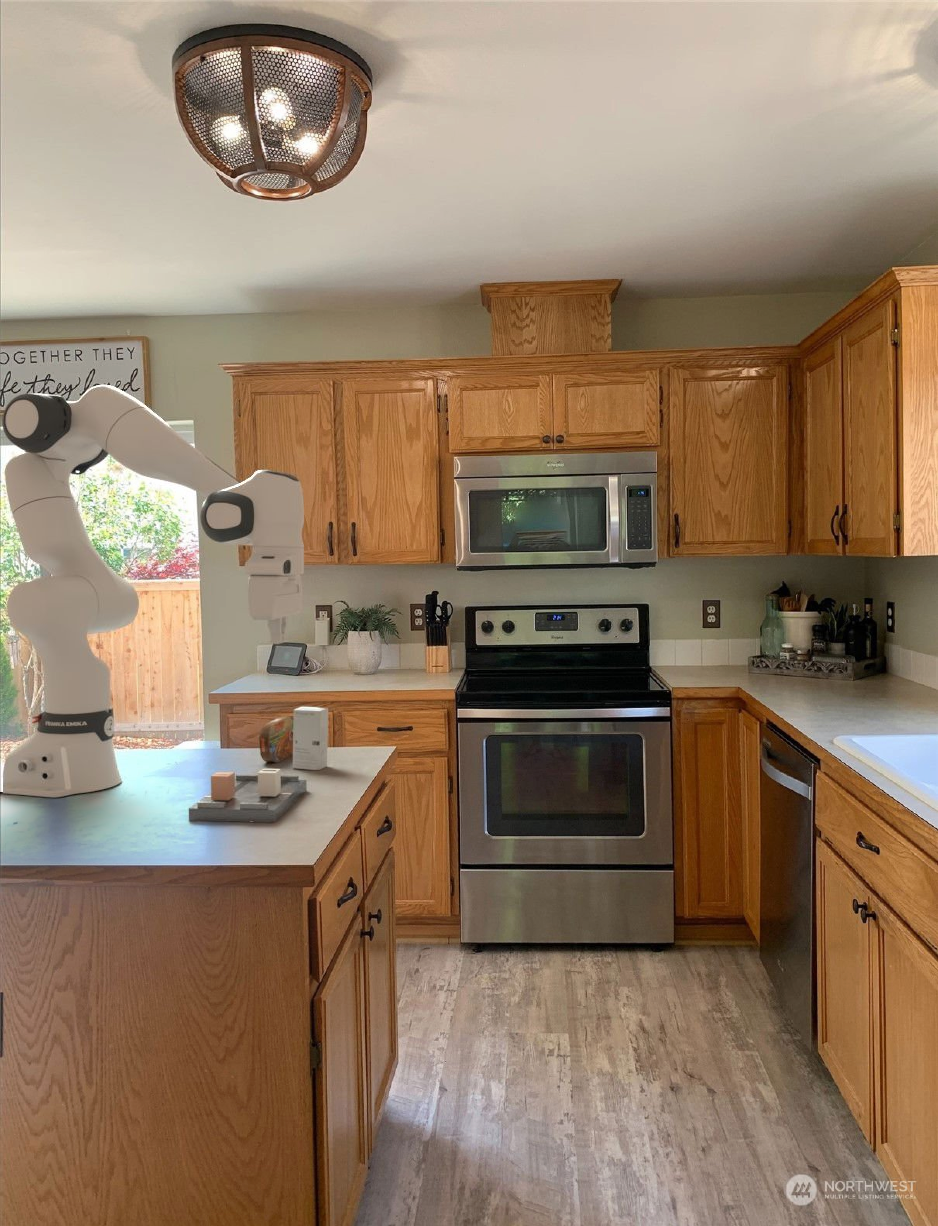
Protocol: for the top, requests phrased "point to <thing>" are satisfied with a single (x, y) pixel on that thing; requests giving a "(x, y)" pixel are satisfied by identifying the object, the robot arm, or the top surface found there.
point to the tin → (276, 739)
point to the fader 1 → (222, 785)
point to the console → (249, 802)
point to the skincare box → (310, 738)
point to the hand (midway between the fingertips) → (277, 643)
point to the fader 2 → (269, 782)
